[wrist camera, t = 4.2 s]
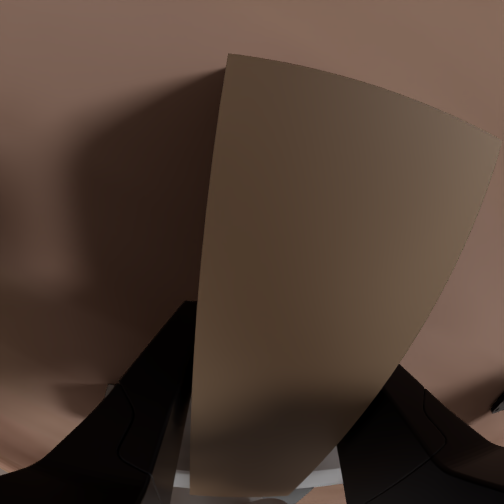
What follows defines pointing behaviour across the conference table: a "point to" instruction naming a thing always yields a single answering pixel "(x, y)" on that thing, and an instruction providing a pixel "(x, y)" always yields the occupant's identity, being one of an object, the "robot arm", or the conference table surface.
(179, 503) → the mug
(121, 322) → the conference table surface
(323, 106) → the panel
